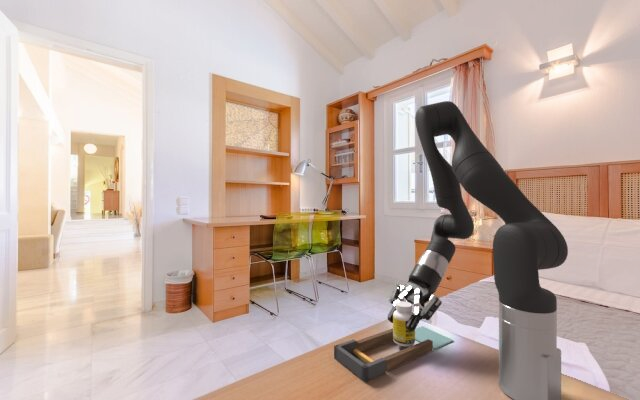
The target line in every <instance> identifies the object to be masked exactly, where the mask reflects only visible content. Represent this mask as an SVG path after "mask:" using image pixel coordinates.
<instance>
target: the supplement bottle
mask: <svg viewBox="0 0 640 400" xmlns="http://www.w3.org/2000/svg"><path fill="white" fill-rule="evenodd" d="M405 301H406V300H404V301H400V302H397V303H396V311H394V313H393V323H392V329H393V341H392V342H394V343H395V344H396V345H398V346H401V347H406V348H408V347H411V346H413V345H415V342H416V340H415V330H414V331H412V332H410V331H408V330H407V329H406V325H407V323H408V321H409V319H410V317H411V315H412V314H413V315H414V311H413V304H411V303H409V302H405Z"/></svg>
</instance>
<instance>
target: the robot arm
mask: <svg viewBox="0 0 640 400" xmlns="http://www.w3.org/2000/svg"><path fill="white" fill-rule="evenodd" d="M414 119H415V120H414V121H415V127H416V132H417V135H418V138H419V141H420V144H421V148H422V151H423V154H424V157H425V160H426V162H427V166H428V168H429V172H430V175H431V179H432V185H433V191H434V195H435V200H436V204H437V206H438V207H439V208H441V209H445V210H447V211H449V213H450V214H442V215H440V216H438V217H437V218H436V220H435V221H434V223H433V228H432V233H431V238H430V241H429V243H428V245H427V246H426V247H425V249H424V252H423V253H422V254H421V256H420V257H419V258H418V260H417V262H416V264H415V266H414V267H413V269H412V270H411V272H410V274H409V275H408V280H407V282H406V283H405V284H403V285H401V284H399V283H398V282H396V283H395V284H394V287H393V289H392V291H391V294H390V296H389V300H388V302H389V303H390V304H391V305H392V307H391V309H390V311H389V312H388V314H387V320H388V321H389V322H390V323H392V324H393V313H394V311H396V303H397V302H400V301H405V302H409V303H411V304H412V305H413V306H414V309H413V313H414V315H413V314H412V315H411V317H410V319H409V321H408V323H407V325H406V329H407V330H408V331H410V332H412V331H414V330H415V329H416V328H418V325H419V323H420V321H422V320H426V321H430V319H431V318H432V317H433V316H434V314H436V311H437V310H438V309H439V308H440V307H441V305H442V304H443V303H442V300H441V299H440V298H439V296H437V295H436V294H435V293H436V292H437V290H438V288H439V285H440V284H441V282H442V281H443V278H444V276H445V274H446V273H447V269H448V267H449V265H450V263H451V261H452V259H453V257H454V256H455V253H456V245H455V244H454V243H453V241H451V240H450V239H457V240H459V239H460V240H467V239H469V238H470V237H471V236H472V235H473V233H474V231H475V224H474V219H473V218H472V215H471V213H470V211H469V210H468V207H467V205H466V203H465V201H464V198H463V194H462V188H463V190H464V191H465V193H467V194H468V195H469V196H471V197H472V198H473V199H475V200H476V201H478V202H479V203H480V204H482V205H483V206H485V207H486V208H488V209H489V210H491V211H492V212H493V213H495V214H496V215H497V216H499V218H500V219H501V220H502V221H503V222H504V224H502V225H501V226H499V228H497V230H496V232H495V233H494V236H493V239H492V241H493V242H492V260H493V261H492V263H493V277H494V278H493V280H494V285H495V288H496V290H497V293H498V385H499V388H500V390H501V391H502V392H503V393H504V394H505V395H506V396H508V397H510V398H511V399H512V400H562V350H561V348H558V346H557V345H558V344H557V343H558V341H557V339H558V337H557V336H558V335H557V331H558V329H557V326H558V325H557V322H558V321H557V320H558V319H557V314H558V311H557V309H558V306H557V305H558V304H557V303H558V301H557V296H556V294H555V293H554V292H552V291H550V290H549V289H546V288H544V287H542V286H541V284H540V278H539V271H542V270H549V269H553V268H558V267H560V266H562V265H563V264H564V263H565V262H566V260H567V257H568V254H569V249H568V244H567V241H566V239H565V237H564V235H563V234H562V231H561V230H560V229H558V227H557V226H556V225H555V224H554V223H553V222H552V221H551V220H550V219H549V218H548V217H547V216H546V215H544V214H543V213H542V212H541V210H540V209H539V208H538V207H536V206H535V205H534V203H532V202H531V201H530V200H529V199H528V198H527V196H526V195H525V194H524V193H523V192H522V190H521V189H520V187H518V185H516V183H515V182H514V181H513V180H512V178H511V177H510V176H509V175H508V174H507V173H506V171H505V170H504V168H503V167H502V166H501V164H500V163H499V162H498V160H497V159H495V157H494V155H493V154H492V153H491V152H490V150H489V149H487V148H486V146H485V145H484V144H483V143H482V141H481V139H480V138H479V137H478V136H477V135H476V134H475V132H474V131H473V129H472V127H471V126H470V124H469V123H468V121H467V120H466V118H465V116H464V115H463V113H462V111H461V110H460V108H459V107H458V106H457V104H455V102H452V101H449V100H448V101H445V100H444V101H439V102H435V103H431V104H430V103H429V104H425V105H422V106H420V107H418V108H417V110H416V112H415V117H414ZM444 135H445V136H446V135H448V136H450V137H451V138H452V140H453V141H454V142H453V143H454V151H453V153H452V159H451V164H450V163H449V162H448V161H447V160H446V159H445V157H444V156H443V154H442V153H441V152H440V150H439V149H438V147H437V143H436V140H435V138H436V137H439V136H440V137H441V136H444ZM461 187H462V188H461ZM434 294H435V295H434ZM426 303H427V304H426Z"/></svg>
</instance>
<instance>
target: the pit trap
mask: <svg viewBox="0 0 640 400" xmlns="http://www.w3.org/2000/svg"><path fill="white" fill-rule="evenodd" d="M356 341H357V340H355V338H354V339H350V340H348V341H344V342H342V343H338V344H335V345H333V357H334V360H335V361H337V362H338V363H339V364H341V365H342V366H343V367H344V368H346V369H347V370H348V371H349V372H350V373H352V374H353V375H354V376H356V377H357V378H358V379H359V380H360V381H362V382H363V383H368V382H370V381H372V380H375V379H376V378H379V377H381V376H383V375H386V374H387V372H386V359H384V357H380V358H378V359H376V360H375V359H372V358H371V357H370V356H368V355H366V354H365V353H364V352H360V351H359V350H357V349H356Z"/></svg>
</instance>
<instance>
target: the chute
mask: <svg viewBox="0 0 640 400" xmlns="http://www.w3.org/2000/svg"><path fill="white" fill-rule="evenodd" d="M391 342H394V341H393V328H391V329H388V330H385V331H381V332H378V333H376V334H373V335H369V336H367V337H364V338H361V339H359V340H356V349H357V350H359V351H360V352H362V353H364V352H366V351H369V350H372V349H375V348H377V347H379V346H382V345H385V344H388V343H391ZM433 351H434V349H433V341H432V340H429V339H428V340H425V341H423V342H418V343H416V344H415V343H414V345H412V346H408V347H406V348H404V349H401V350H399V351H396V352H394V353H391V354H389V355H387V356H384V357H383V358H384V359H386V373H387V372H390V371H392V370H394V369H397V368H398V367H401V366H403V365H404V364H407V363H409V362H411V361H413V360H416V359H418V358H420V357H422V356H425V355H427V354H429V353H432V352H433Z"/></svg>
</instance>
